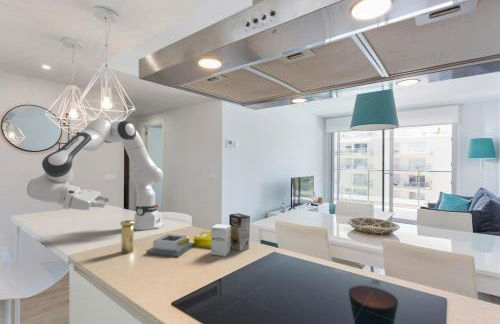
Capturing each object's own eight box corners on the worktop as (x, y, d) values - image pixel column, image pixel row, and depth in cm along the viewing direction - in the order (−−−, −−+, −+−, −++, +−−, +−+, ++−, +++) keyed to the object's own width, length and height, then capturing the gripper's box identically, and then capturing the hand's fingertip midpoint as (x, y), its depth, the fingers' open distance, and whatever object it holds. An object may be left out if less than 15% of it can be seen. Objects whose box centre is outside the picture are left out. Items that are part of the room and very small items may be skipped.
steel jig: (165, 243, 131) (165, 232, 131) (194, 246, 128) (194, 235, 128) (146, 253, 116) (146, 241, 116) (178, 257, 112) (178, 244, 112)
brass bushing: (126, 249, 122) (126, 219, 122) (137, 250, 120) (138, 220, 120) (116, 253, 116) (117, 222, 116) (128, 254, 114) (129, 223, 114)
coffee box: (228, 246, 128) (228, 214, 128) (238, 244, 132) (238, 212, 132) (239, 251, 121) (240, 217, 121) (250, 248, 126) (250, 215, 126)
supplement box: (210, 255, 116) (210, 227, 116) (216, 249, 123) (216, 223, 123) (225, 256, 114) (226, 228, 114) (230, 251, 121) (231, 224, 121)
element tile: (219, 249, 125) (219, 239, 125) (191, 246, 129) (191, 236, 129) (229, 240, 139) (230, 232, 139) (204, 238, 143) (204, 229, 143)
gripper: (77, 197, 122) (109, 203, 127) (61, 209, 103) (99, 216, 108) (81, 184, 122) (112, 191, 127) (66, 194, 103) (103, 201, 107)
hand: (106, 202), depth 117 cm, fingers open, 8 cm apart
